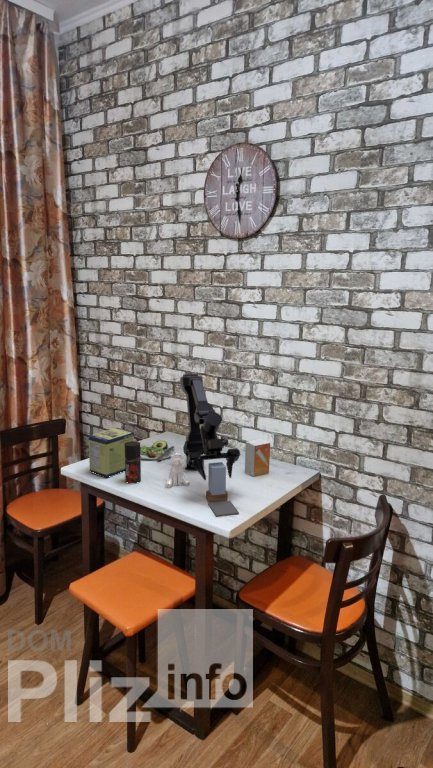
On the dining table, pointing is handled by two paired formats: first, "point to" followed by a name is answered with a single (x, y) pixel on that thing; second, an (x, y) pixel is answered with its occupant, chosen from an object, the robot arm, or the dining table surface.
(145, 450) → the salad plate
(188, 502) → the dining table surface
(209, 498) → the walnut plinth
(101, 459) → the protein box
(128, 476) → the deodorant
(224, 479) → the slate-blue block
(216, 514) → the charcoal felt mat
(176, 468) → the white creature statuette
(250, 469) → the small box
